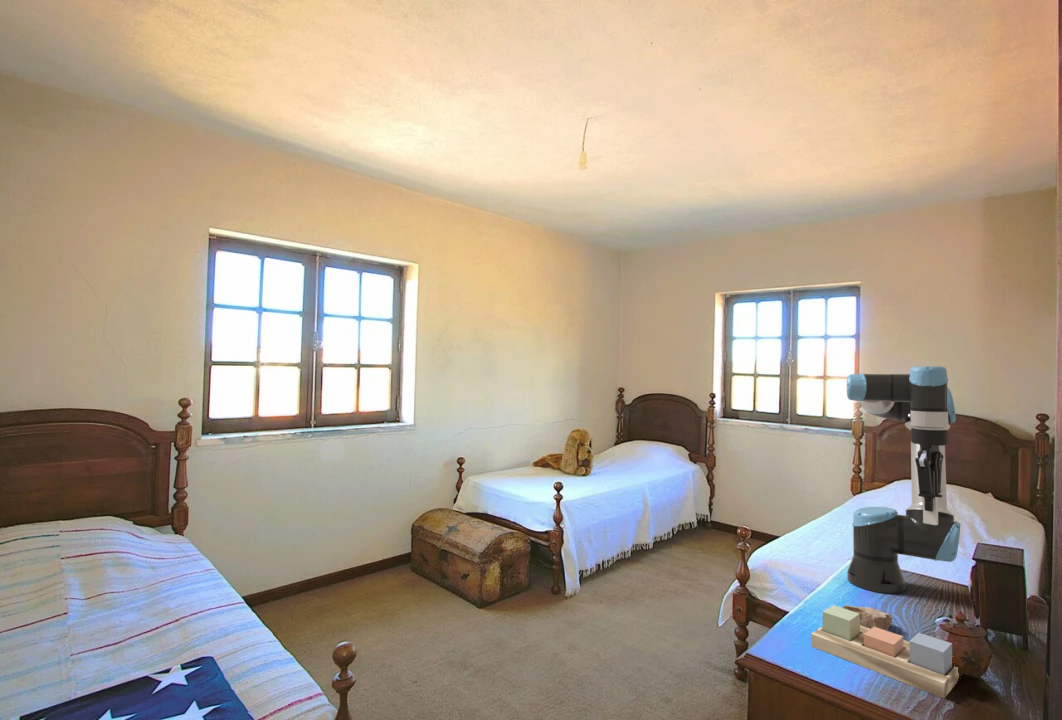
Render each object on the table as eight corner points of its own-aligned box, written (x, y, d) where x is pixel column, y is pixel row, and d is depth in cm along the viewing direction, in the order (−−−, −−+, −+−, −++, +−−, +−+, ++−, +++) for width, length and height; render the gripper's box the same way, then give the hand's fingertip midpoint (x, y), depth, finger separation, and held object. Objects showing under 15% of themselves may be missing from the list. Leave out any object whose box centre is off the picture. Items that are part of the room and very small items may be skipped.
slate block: (919, 655, 119) (918, 632, 119) (952, 666, 114) (952, 643, 114) (909, 664, 115) (909, 641, 115) (943, 676, 111) (943, 652, 111)
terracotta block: (874, 647, 126) (873, 626, 126) (903, 658, 121) (903, 636, 122) (864, 656, 122) (863, 634, 123) (894, 667, 118) (893, 644, 118)
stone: (880, 638, 132) (880, 618, 132) (836, 619, 142) (836, 600, 142) (901, 630, 136) (901, 611, 136) (857, 612, 146) (857, 594, 146)
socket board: (836, 629, 136) (836, 617, 136) (963, 674, 116) (963, 660, 116) (811, 646, 128) (811, 633, 128) (944, 698, 107) (943, 683, 107)
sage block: (833, 625, 133) (833, 605, 133) (859, 634, 128) (859, 613, 129) (822, 632, 130) (822, 611, 130) (849, 642, 125) (849, 620, 125)
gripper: (919, 425, 139) (921, 516, 139) (902, 428, 131) (903, 524, 131) (955, 427, 133) (957, 522, 133) (939, 431, 125) (941, 532, 125)
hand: (930, 523), depth 132 cm, fingers closed
